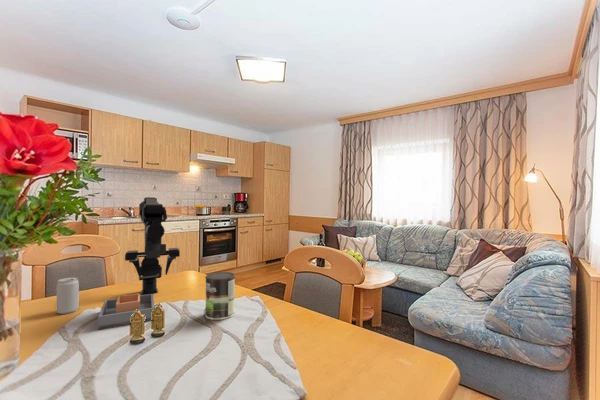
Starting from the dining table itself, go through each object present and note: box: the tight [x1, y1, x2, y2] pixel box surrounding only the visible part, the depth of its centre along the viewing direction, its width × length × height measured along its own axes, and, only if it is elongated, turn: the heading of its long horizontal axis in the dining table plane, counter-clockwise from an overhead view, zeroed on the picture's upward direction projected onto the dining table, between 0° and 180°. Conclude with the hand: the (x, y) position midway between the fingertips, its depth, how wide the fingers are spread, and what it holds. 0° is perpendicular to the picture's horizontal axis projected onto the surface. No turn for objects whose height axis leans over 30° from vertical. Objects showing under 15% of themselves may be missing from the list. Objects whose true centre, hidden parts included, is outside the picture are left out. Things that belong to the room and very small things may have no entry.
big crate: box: [97, 293, 155, 331], centre depth 103 cm, size 18×16×4 cm
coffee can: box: [204, 271, 236, 321], centre depth 103 cm, size 10×10×14 cm
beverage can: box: [56, 277, 80, 315], centre depth 106 cm, size 6×6×12 cm
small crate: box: [116, 292, 141, 313], centre depth 103 cm, size 10×7×5 cm
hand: (153, 275), depth 113 cm, fingers open, 9 cm apart
